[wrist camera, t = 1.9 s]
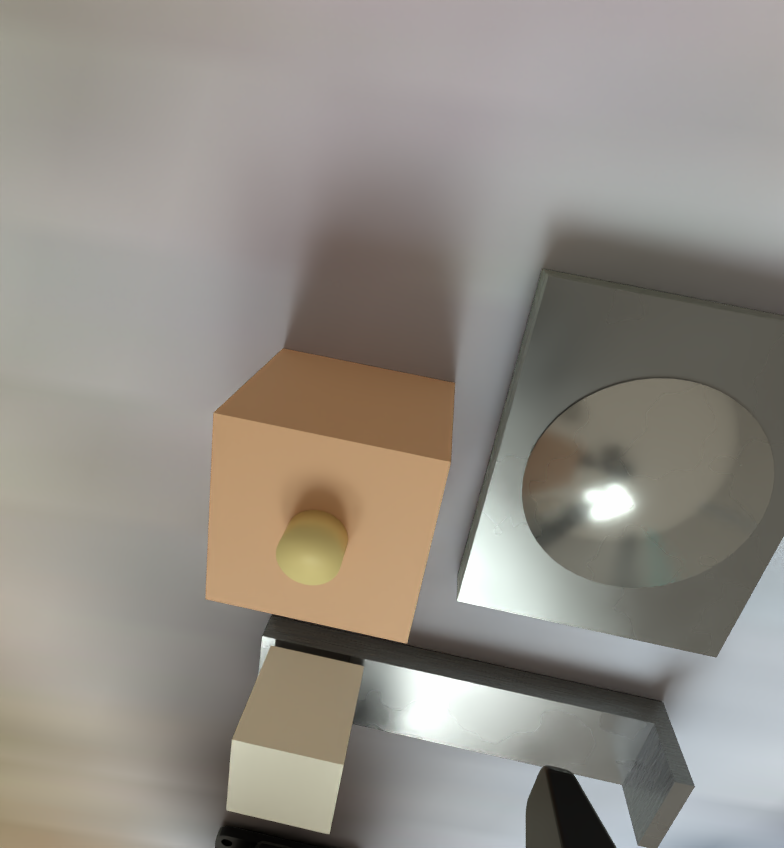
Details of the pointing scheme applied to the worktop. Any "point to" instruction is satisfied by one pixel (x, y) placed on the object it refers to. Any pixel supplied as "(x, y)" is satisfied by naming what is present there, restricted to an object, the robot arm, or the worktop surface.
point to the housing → (328, 492)
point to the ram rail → (511, 717)
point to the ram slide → (294, 740)
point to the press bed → (633, 466)
